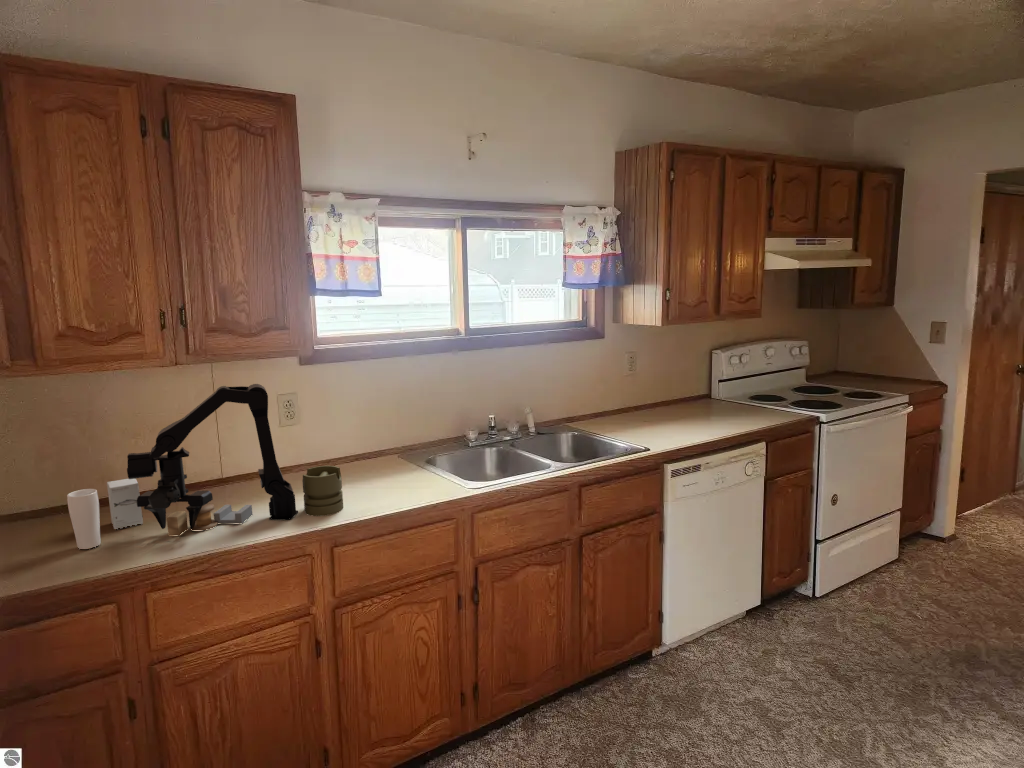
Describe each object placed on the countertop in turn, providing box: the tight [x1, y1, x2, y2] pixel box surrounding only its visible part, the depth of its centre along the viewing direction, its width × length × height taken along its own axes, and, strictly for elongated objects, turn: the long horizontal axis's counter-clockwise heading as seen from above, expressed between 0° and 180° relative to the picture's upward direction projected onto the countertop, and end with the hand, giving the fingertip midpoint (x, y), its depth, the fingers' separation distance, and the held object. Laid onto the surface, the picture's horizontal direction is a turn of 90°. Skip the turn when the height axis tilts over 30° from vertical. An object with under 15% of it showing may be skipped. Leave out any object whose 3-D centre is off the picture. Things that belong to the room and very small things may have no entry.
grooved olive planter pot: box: [302, 465, 344, 517], centre depth 198 cm, size 11×12×11 cm
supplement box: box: [106, 478, 144, 530], centre depth 189 cm, size 7×7×13 cm
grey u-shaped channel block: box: [213, 504, 254, 524], centre depth 192 cm, size 8×7×3 cm
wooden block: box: [166, 510, 189, 536], centre depth 182 cm, size 3×4×6 cm, turn 177°
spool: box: [191, 502, 219, 531], centre depth 186 cm, size 7×7×6 cm
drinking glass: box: [66, 488, 102, 550], centre depth 173 cm, size 7×7×15 cm
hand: (177, 528), depth 182 cm, fingers open, 8 cm apart
